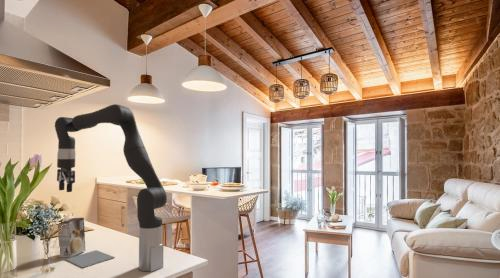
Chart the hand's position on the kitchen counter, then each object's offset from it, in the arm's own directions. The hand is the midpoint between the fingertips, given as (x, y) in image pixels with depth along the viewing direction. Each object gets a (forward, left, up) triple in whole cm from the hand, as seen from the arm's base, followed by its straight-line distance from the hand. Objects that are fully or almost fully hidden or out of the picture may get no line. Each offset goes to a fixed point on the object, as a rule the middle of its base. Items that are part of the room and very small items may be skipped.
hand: (65, 191), depth 145 cm
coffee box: (-10, 0, -29) cm, 30 cm away
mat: (-22, -2, -29) cm, 36 cm away
